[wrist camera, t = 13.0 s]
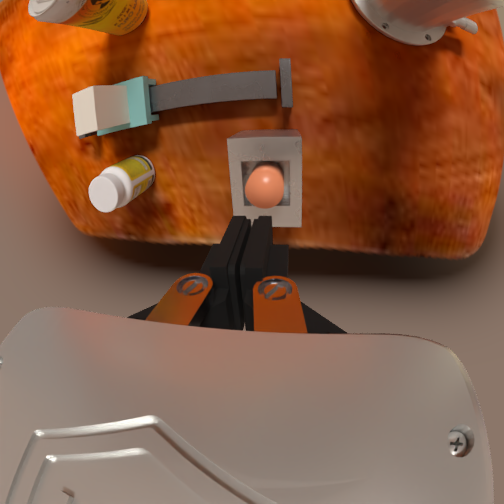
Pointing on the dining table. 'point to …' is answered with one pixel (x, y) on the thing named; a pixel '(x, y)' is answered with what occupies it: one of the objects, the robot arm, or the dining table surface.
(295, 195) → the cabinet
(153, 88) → the rail
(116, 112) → the carriage
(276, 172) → the button
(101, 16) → the beer can
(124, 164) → the supplement bottle
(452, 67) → the dining table surface
